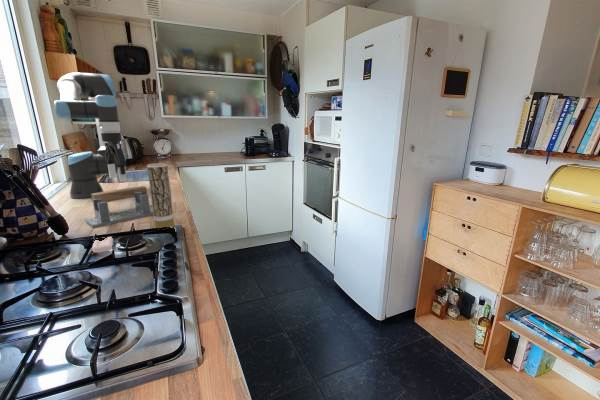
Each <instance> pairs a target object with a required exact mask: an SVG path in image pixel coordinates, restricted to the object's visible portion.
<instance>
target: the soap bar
mask: <svg viewBox="0 0 600 400" xmlns="http://www.w3.org/2000/svg"><path fill="white" fill-rule="evenodd" d="M112 237H113V236H107V238H105V237H104V238H105V239H104V240H102V241H99V240H95V239H94V240H95V241H94V240H93V242H94V243H92V247H91V252H92V251H93V252H101V251H107V250H111V249H112V245H113V246H114V237H113V238H112ZM112 250H113V249H112Z"/></svg>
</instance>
